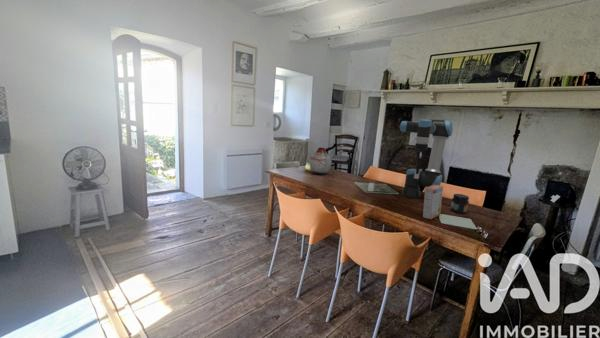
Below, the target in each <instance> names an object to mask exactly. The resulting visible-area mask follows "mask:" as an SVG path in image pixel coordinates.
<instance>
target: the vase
mask: <svg viewBox="0 0 600 338" xmlns="http://www.w3.org/2000/svg"><path fill="white" fill-rule="evenodd" d="M331 167H332V157H331V155H329V153H328V152H327V151H326V147H318V148H317V150H316V151H315V152H314V153H312V155H311V156H310V157H309V168H310V170H311V171H312V173H313V174H315V175H317V176H319V175H320V176H324V175H326V174H327V173H329V171H330V169H331Z"/></svg>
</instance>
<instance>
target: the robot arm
mask: <svg viewBox="0 0 600 338" xmlns="http://www.w3.org/2000/svg"><path fill="white" fill-rule="evenodd" d="M399 130H400V132H403V133H404V132H405V133H412V134H413V133H415V134H416V137H415V145H414V149H415V150H418V151H416V163H415V167H414V168H408V169H407V170H406V174H405V181H404V187H403V188H402V189H401V193H400V195H401V196H403V197H406V198H409V199H420V198H421V190H420V186H421V187H424V188H426V187H429V186H432V185H439V186H441V184H442V181H443V175H442V172H441V171H440V169H441V165H442V161H443V155H444V151H445V146H446V141H447V140H448V139H449V137H452V135H453V122H452V121H451V120H447V119H429V118H428V119H424V118H423V119H422V118H421V119H419V120H418V121H410V120H409V121H408V120H402V121H401V122H400V124H399ZM430 136H432V138H433V140H432V141H433V142H432V145H431V146H432V147H431V151H430V155H429V160H428V165H427V168H425V170H424V171H423V169H422V168H421V166H422V161H423V159H424V158H423V157H424V152H423V151H427V150H428V147H429V145H428V144H429V142H430Z"/></svg>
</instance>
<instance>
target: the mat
mask: <svg viewBox="0 0 600 338" xmlns="http://www.w3.org/2000/svg"><path fill="white" fill-rule="evenodd" d="M438 218H439V221H440V223H441V224H445V225H447V226H448V225H449V226H455V227H459V228H465V229H470V230H476V229H478V227H476V225H475V223H474V222H473V221H472V219H471V218H466V217H460V216H455V215H450V214H443V213H442V214H441V213H440V216H438Z"/></svg>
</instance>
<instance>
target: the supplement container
mask: <svg viewBox="0 0 600 338" xmlns="http://www.w3.org/2000/svg"><path fill="white" fill-rule="evenodd" d="M469 199H470V196H468V195H466V194H462V193H454V194H453V197H452V199H451V204H450V211H452V212H454V213H456V214H467V211H468V208H469V203H470V201H469Z"/></svg>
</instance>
